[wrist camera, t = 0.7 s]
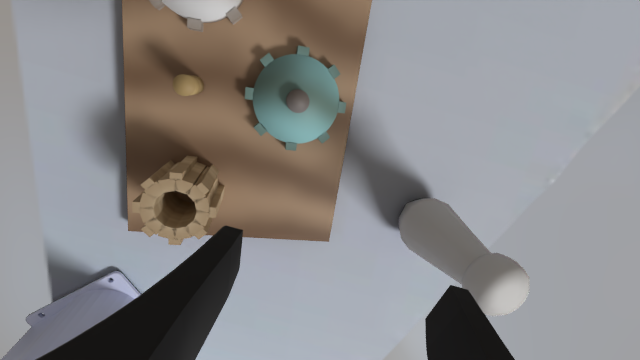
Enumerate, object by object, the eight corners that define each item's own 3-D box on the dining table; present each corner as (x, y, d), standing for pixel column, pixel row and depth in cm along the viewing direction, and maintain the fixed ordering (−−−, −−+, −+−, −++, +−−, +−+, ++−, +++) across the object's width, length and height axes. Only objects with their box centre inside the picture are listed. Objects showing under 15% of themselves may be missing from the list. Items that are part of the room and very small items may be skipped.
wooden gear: (189, 228, 27) (174, 258, 22) (141, 182, 25) (113, 206, 21) (237, 191, 27) (232, 213, 22) (192, 142, 25) (176, 156, 20)
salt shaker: (432, 243, 34) (526, 334, 22) (385, 238, 33) (457, 331, 20) (448, 194, 32) (560, 262, 20) (400, 187, 31) (488, 255, 19)
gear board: (326, 235, 31) (336, 260, 27) (133, 224, 27) (108, 252, 23) (378, -59, 24) (403, -91, 20) (126, -130, 20) (87, -189, 16)
